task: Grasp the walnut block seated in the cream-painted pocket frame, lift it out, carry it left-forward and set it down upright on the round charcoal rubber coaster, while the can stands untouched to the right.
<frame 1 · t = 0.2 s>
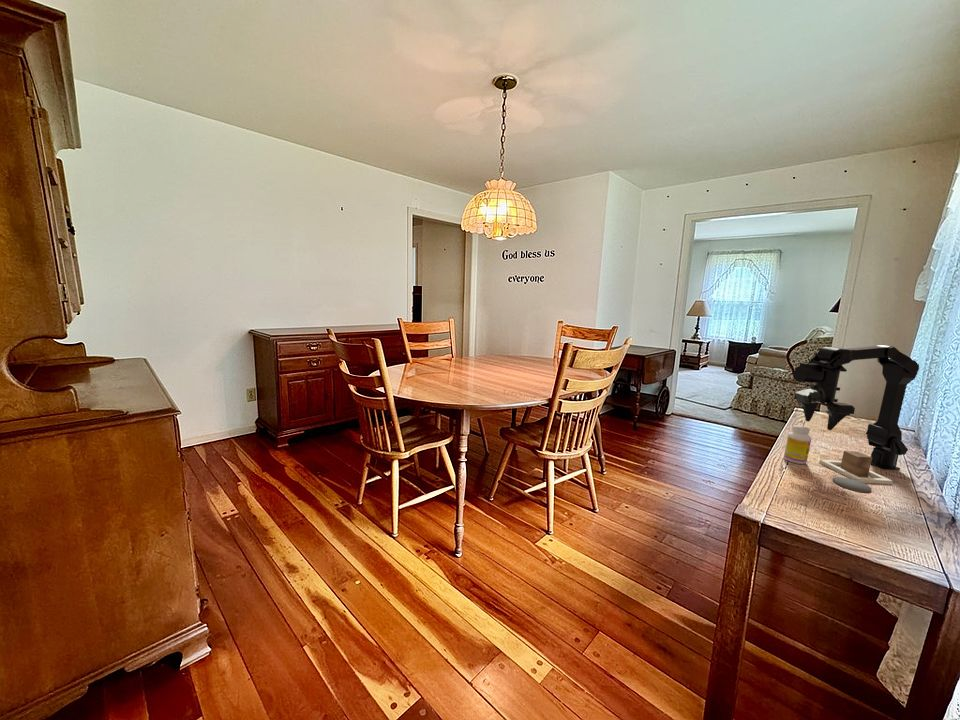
hand: (818, 425, 138), 14 cm above the table, fingers open, 9 cm apart
block: (853, 473, 133), resting in pocket frame
coaster: (851, 485, 124), on the table
supplement bottle: (794, 461, 142), on the table
pocket frame: (853, 472, 133), on the table
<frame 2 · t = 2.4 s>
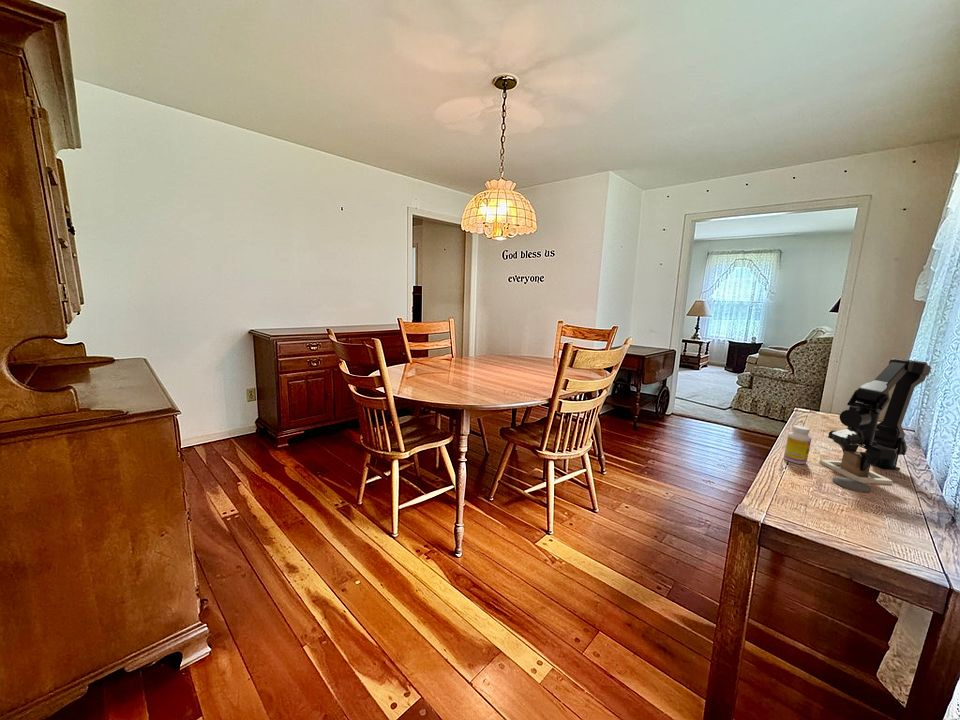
hand: (854, 467, 133), 2 cm above the table, fingers closed on block, 5 cm apart
block: (853, 472, 133), resting in pocket frame, touching gripper
everything else where it was.
when the fingers open (4 cm above the table, at t = 6.4 s): block stays where it is, resting on coaster.
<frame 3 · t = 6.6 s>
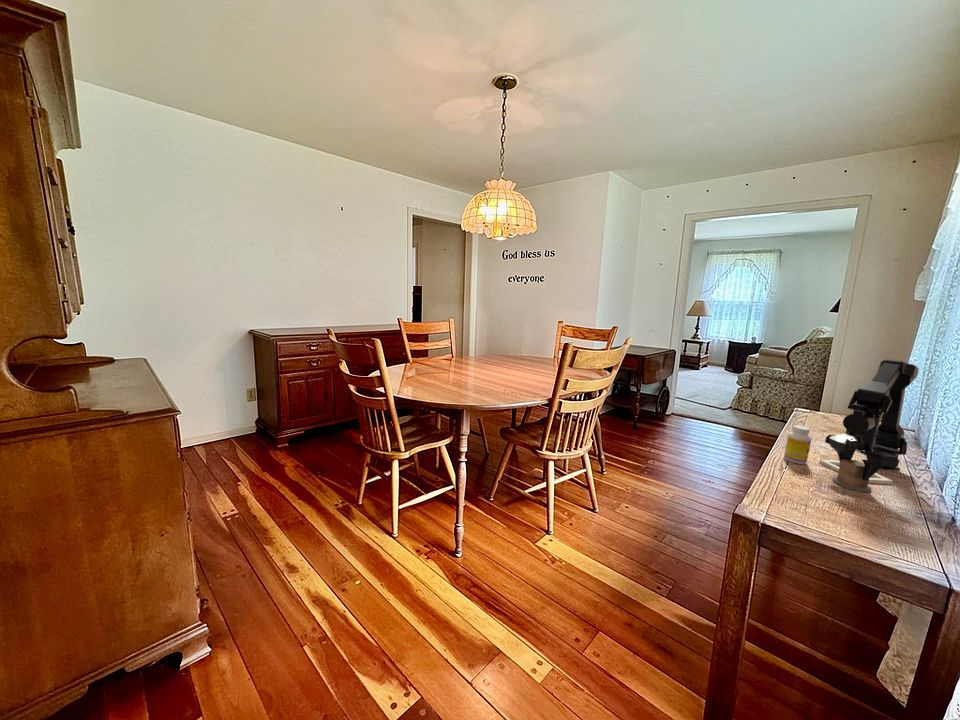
hand: (853, 474, 123), 4 cm above the table, fingers open, 7 cm apart
block: (851, 483, 124), point 1 cm above the table, touching coaster
everything else where it was.
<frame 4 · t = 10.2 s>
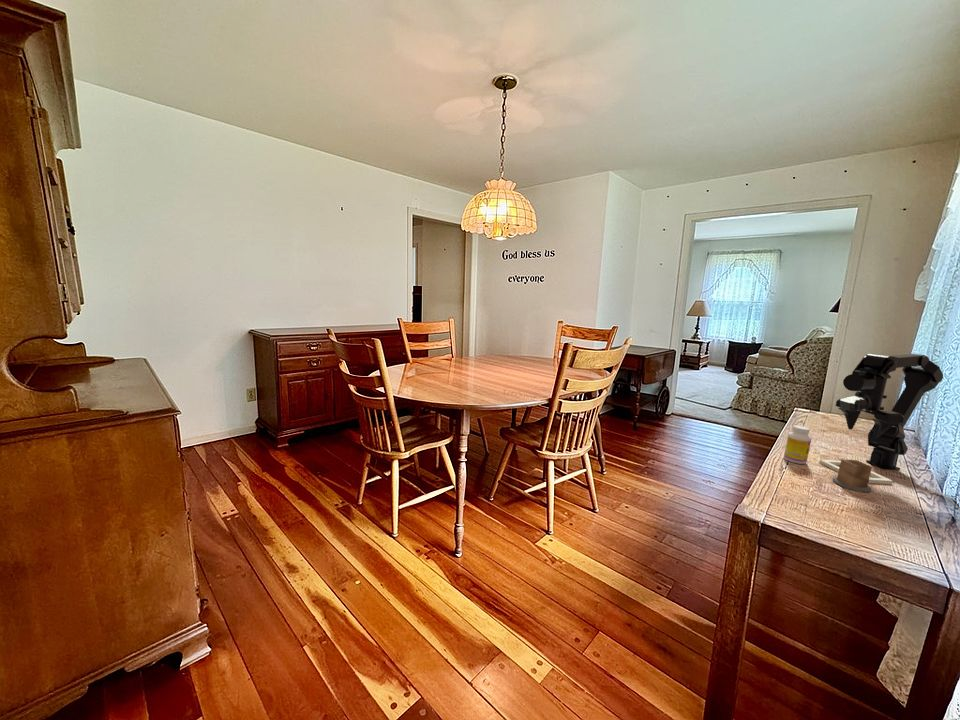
hand: (862, 433, 135), 13 cm above the table, fingers open, 9 cm apart
nothing on the table moved.
at the end: block 0.1 cm from the coaster (horizontally); block tilted 0°; the gripper is holding nothing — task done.
